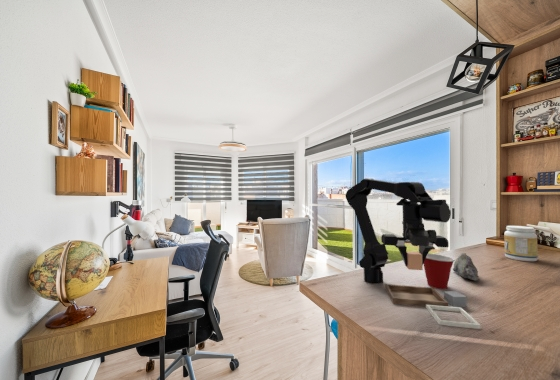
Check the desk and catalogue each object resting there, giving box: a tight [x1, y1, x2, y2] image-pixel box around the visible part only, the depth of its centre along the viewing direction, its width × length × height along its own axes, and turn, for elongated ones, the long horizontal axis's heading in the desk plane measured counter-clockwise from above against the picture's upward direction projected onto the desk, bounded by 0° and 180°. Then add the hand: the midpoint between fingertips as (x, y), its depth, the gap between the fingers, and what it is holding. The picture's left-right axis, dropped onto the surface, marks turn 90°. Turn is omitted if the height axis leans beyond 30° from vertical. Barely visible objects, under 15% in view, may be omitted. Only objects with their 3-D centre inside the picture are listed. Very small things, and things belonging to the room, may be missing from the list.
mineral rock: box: [452, 252, 480, 282], centre depth 96 cm, size 13×11×10 cm
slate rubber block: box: [443, 290, 468, 308], centre depth 72 cm, size 4×4×4 cm
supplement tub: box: [503, 225, 539, 262], centre depth 122 cm, size 12×12×17 cm
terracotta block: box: [404, 250, 424, 271], centre depth 76 cm, size 4×4×5 cm
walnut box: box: [384, 283, 450, 308], centre depth 76 cm, size 15×11×2 cm
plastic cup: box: [423, 253, 456, 290], centre depth 86 cm, size 11×11×12 cm
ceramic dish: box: [425, 304, 482, 330], centre depth 64 cm, size 9×9×2 cm
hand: (413, 266), depth 76 cm, fingers closed on terracotta block, 4 cm apart
